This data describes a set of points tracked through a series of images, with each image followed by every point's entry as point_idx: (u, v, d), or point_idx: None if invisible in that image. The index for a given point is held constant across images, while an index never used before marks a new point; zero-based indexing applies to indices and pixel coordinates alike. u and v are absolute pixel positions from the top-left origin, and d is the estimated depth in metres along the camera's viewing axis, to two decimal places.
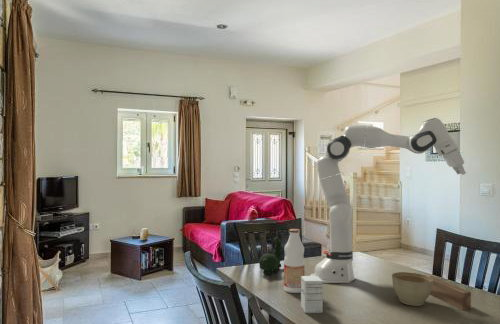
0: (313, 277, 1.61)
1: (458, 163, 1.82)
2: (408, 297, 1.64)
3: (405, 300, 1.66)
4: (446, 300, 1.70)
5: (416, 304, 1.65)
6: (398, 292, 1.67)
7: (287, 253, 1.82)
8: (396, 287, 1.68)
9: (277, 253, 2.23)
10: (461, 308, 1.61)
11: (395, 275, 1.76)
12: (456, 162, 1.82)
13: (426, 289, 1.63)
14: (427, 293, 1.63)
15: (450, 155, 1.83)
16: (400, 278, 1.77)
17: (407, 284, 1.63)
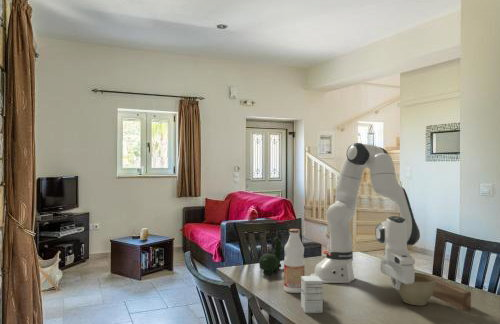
0: (313, 277, 1.61)
1: (409, 281, 1.58)
2: (412, 297, 1.64)
3: (409, 299, 1.66)
4: (446, 300, 1.70)
5: (419, 304, 1.65)
6: (401, 292, 1.67)
7: (287, 253, 1.82)
8: None
9: (277, 253, 2.23)
10: (461, 308, 1.61)
11: None
12: (407, 279, 1.58)
13: (429, 288, 1.63)
14: (430, 292, 1.64)
15: (405, 269, 1.59)
16: None
17: (411, 284, 1.63)
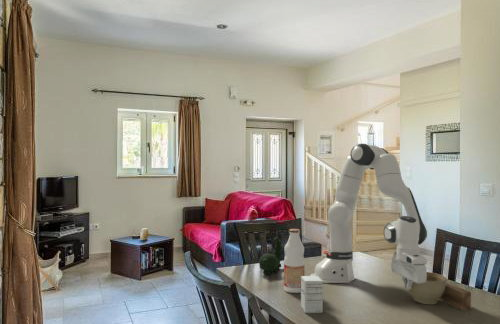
0: (313, 277, 1.61)
1: (421, 281, 1.59)
2: (424, 296, 1.66)
3: (420, 299, 1.68)
4: (446, 300, 1.70)
5: (431, 302, 1.67)
6: (413, 291, 1.69)
7: (287, 253, 1.82)
8: (411, 286, 1.69)
9: (277, 253, 2.23)
10: (461, 308, 1.61)
11: None
12: (419, 279, 1.59)
13: (441, 287, 1.65)
14: (442, 291, 1.66)
15: (417, 268, 1.60)
16: None
17: (424, 283, 1.65)
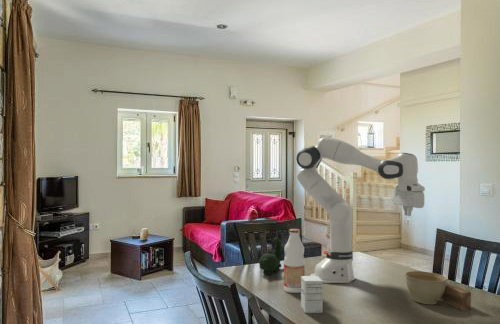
0: (313, 277, 1.61)
1: (419, 205, 1.82)
2: (424, 296, 1.66)
3: (420, 299, 1.68)
4: (446, 300, 1.70)
5: (431, 302, 1.67)
6: (413, 291, 1.69)
7: (287, 253, 1.82)
8: (411, 286, 1.69)
9: (277, 253, 2.23)
10: (461, 308, 1.61)
11: (407, 274, 1.77)
12: (418, 203, 1.82)
13: (441, 287, 1.65)
14: (442, 291, 1.66)
15: (416, 194, 1.82)
16: (412, 277, 1.79)
17: (424, 283, 1.65)
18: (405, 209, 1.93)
